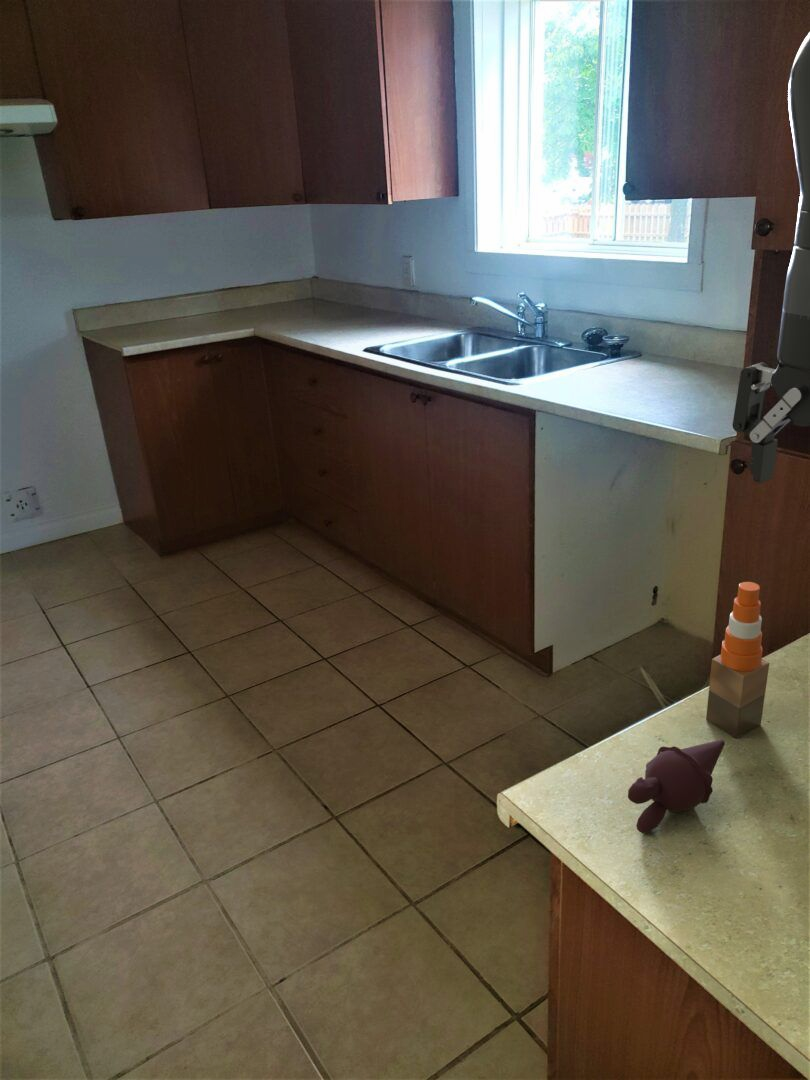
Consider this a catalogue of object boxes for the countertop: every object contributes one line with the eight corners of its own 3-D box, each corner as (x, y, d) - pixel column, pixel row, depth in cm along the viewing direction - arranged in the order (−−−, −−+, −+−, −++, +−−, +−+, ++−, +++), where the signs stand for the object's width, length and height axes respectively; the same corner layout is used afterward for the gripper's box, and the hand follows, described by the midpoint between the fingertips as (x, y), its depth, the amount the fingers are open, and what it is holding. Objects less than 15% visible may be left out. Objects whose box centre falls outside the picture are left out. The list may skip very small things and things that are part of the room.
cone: (769, 662, 95) (779, 587, 91) (743, 676, 93) (753, 599, 89) (737, 646, 98) (745, 573, 94) (712, 658, 96) (719, 584, 92)
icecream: (689, 705, 93) (599, 774, 86) (747, 723, 87) (655, 798, 80) (701, 757, 95) (614, 828, 88) (758, 778, 89) (669, 856, 82)
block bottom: (761, 724, 99) (765, 694, 97) (736, 739, 97) (740, 708, 95) (730, 706, 102) (733, 676, 100) (705, 719, 100) (708, 689, 98)
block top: (765, 694, 97) (769, 662, 95) (740, 708, 95) (744, 676, 93) (733, 676, 100) (737, 645, 98) (708, 689, 98) (711, 658, 96)
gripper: (953, 304, 62) (912, 501, 69) (777, 290, 72) (757, 462, 79) (905, 321, 58) (867, 528, 65) (727, 303, 68) (710, 483, 75)
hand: (807, 491), depth 72 cm, fingers open, 8 cm apart
